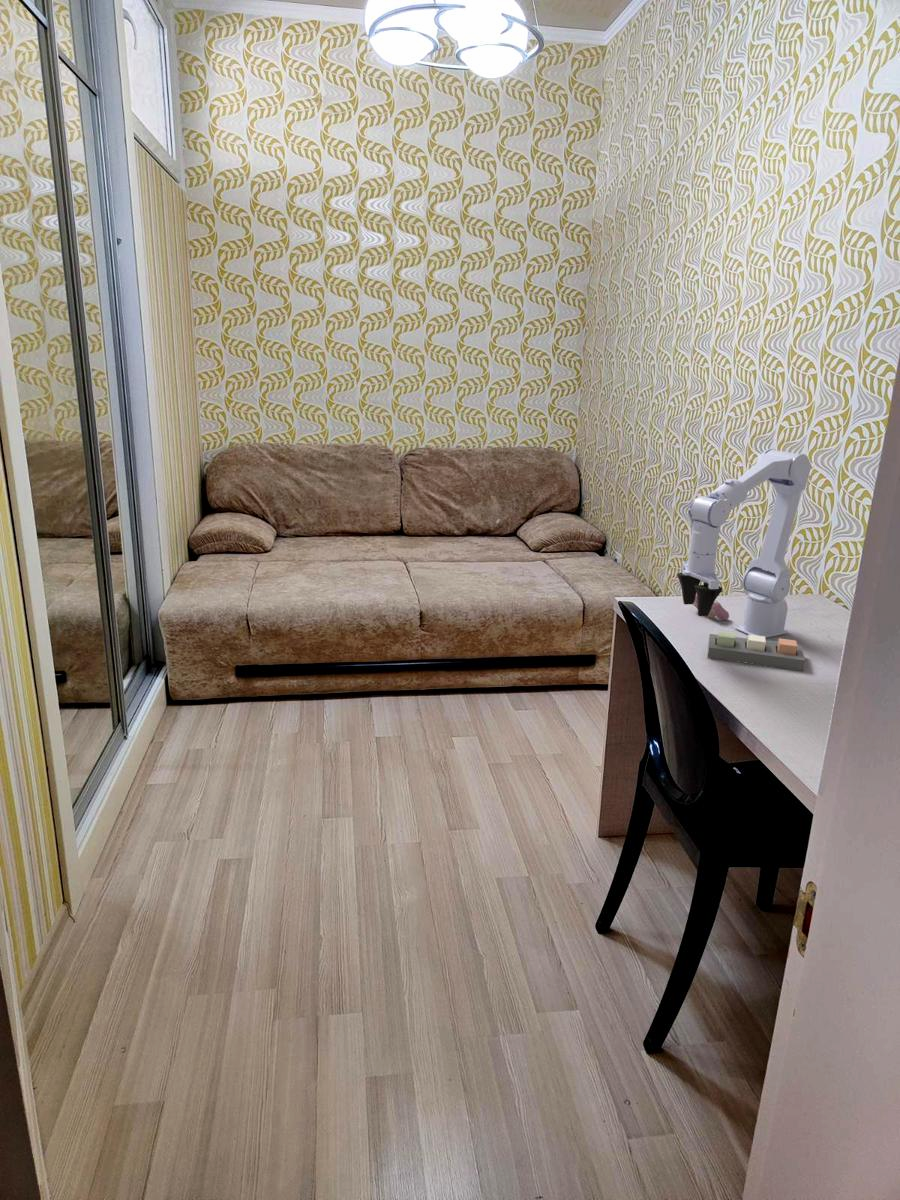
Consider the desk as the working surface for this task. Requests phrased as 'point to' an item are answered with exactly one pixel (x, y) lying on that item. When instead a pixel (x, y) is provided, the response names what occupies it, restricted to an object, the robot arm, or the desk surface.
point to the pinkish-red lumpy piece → (715, 610)
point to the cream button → (756, 642)
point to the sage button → (726, 638)
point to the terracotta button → (787, 646)
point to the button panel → (756, 654)
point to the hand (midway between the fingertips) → (695, 609)
